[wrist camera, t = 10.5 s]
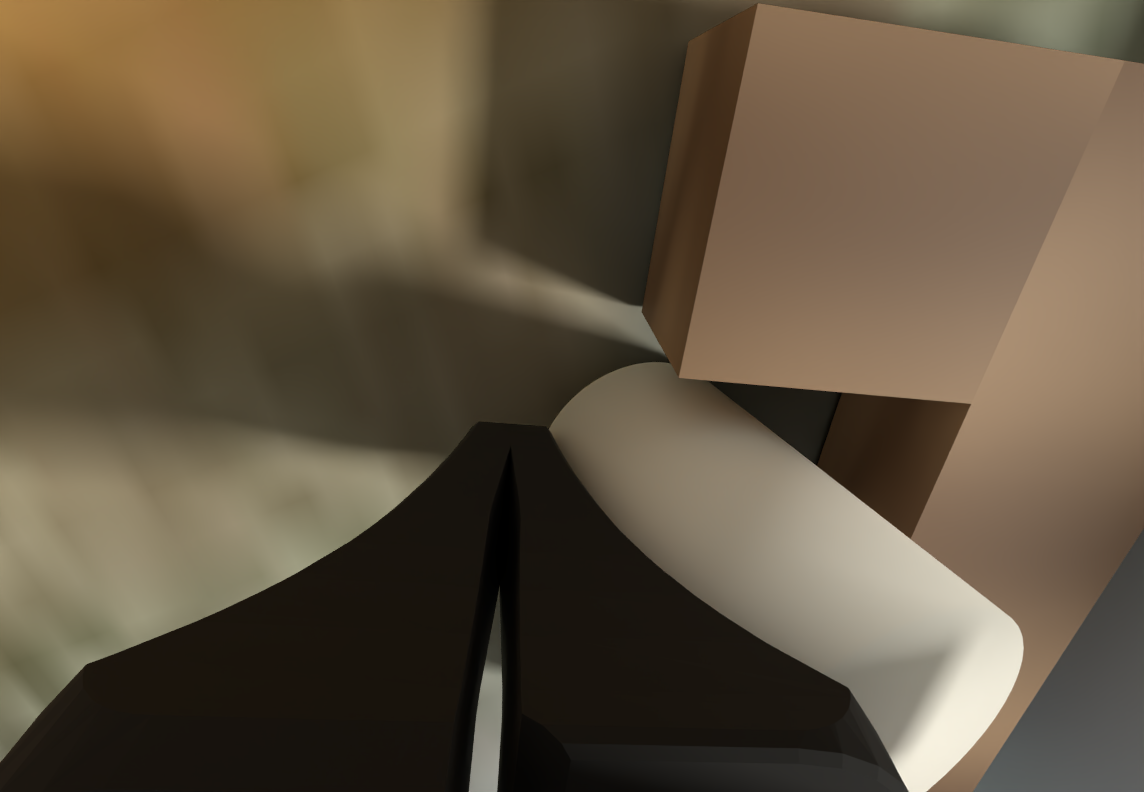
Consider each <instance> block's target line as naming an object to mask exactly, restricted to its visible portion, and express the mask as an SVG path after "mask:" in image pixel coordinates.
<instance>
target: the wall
mask: <svg viewBox="0 0 1144 792" xmlns="http://www.w3.org/2000/svg"><path fill="white" fill-rule="evenodd" d="M973 792H1144V529H1143V531H1142V532H1141V534H1140V535H1139V537H1138V538H1137V540H1136V541H1135V543H1134V545H1133V546H1132V548H1131V549H1130V551H1129V552H1128V554H1127V555H1126V557H1125V558H1124V560H1123V561H1122V563H1121V565H1120V566H1119V568H1118V569H1117V571H1116V572H1115V574H1114V575H1113V577H1112V578H1111V580H1110V581H1109V583H1108V585H1107V586H1106V588H1105V589H1104V591H1103V592H1102V594H1101V595H1100V597H1099V598H1098V600H1097V601H1096V603H1095V605H1094V606H1093V608H1092V609H1091V611H1090V612H1089V614H1088V615H1087V617H1086V618H1085V620H1084V621H1083V623H1082V625H1081V626H1080V628H1079V629H1078V631H1077V632H1076V634H1075V635H1074V637H1073V638H1072V640H1071V641H1070V643H1069V645H1068V646H1067V648H1066V649H1065V651H1064V652H1063V654H1062V655H1061V657H1060V658H1059V660H1058V661H1057V663H1056V665H1055V666H1054V668H1053V669H1052V671H1051V672H1050V674H1049V675H1048V677H1047V678H1046V680H1045V681H1044V683H1043V685H1042V686H1041V688H1040V689H1039V691H1038V692H1037V694H1036V695H1035V697H1034V698H1033V700H1032V701H1031V703H1030V705H1029V706H1028V708H1027V709H1026V711H1025V712H1024V714H1023V715H1022V717H1021V718H1020V720H1019V721H1018V723H1017V725H1016V726H1015V728H1014V729H1013V731H1012V732H1011V734H1010V735H1009V737H1008V738H1007V740H1006V741H1005V743H1004V745H1003V746H1002V748H1001V749H1000V751H999V752H998V754H997V755H996V757H995V758H994V760H993V761H992V763H991V765H990V766H989V768H988V769H987V771H986V772H985V774H984V775H983V777H982V778H981V780H980V781H979V783H978V785H977V786H976V788H975V789H974V791H973Z"/></svg>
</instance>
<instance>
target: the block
mask: <svg viewBox="0 0 1144 792" xmlns="http://www.w3.org/2000/svg"><path fill="white" fill-rule="evenodd" d="M642 313H643V315H644V317H645V319H646V321H647V322H648V324H649V326H650V328H651V329H652V331H653V333H654V335H655V337H656V338H657V340H658V342H659V344H660V345H661V347H662V349H663V351H664V353H665V354H666V356H667V358H668V360H669V361H670V363H671V365H672V367H673V368H674V370H675V372H676V374H677V376H678V377H679V378H685V379H697V380H708V381H719V382H730V383H742V384H753V385H764V386H776V387H787V388H798V389H809V390H821V391H832V392H842V395H841V398H840V400H839V403H838V406H837V409H836V412H835V415H834V418H833V421H832V424H831V427H830V430H829V433H828V436H827V438H826V441H825V444H824V447H823V450H822V453H821V456H820V459H819V462H818V465H817V467H819V468H820V469H821V470H822V471H824V472H825V473H826V474H828V475H829V476H830V477H831V478H833V479H834V480H835V481H837V482H838V483H839V484H840V485H842V486H843V487H844V488H846V489H847V490H848V491H849V492H851V493H852V494H853V495H854V496H856V497H857V498H858V499H860V500H861V501H862V502H863V503H865V504H866V505H867V506H869V507H870V508H871V509H872V510H874V511H875V512H876V513H878V514H879V515H880V516H881V517H883V518H884V519H885V520H887V521H888V522H889V523H890V524H892V525H893V526H894V527H896V528H897V529H898V530H899V531H901V532H902V533H903V534H904V535H906V536H907V537H908V538H910V539H911V540H912V541H913V542H915V543H916V544H917V545H919V546H920V547H921V548H922V549H924V550H925V551H926V552H928V553H929V554H930V555H931V556H933V557H934V558H935V559H937V560H938V561H939V562H940V563H942V564H943V565H944V566H946V567H947V568H948V569H949V570H951V571H952V572H953V573H954V574H956V575H957V576H958V577H960V578H961V579H962V580H963V581H965V582H966V583H967V584H969V585H970V586H971V587H972V588H974V589H975V590H976V591H978V592H979V593H980V594H981V595H983V596H984V597H985V598H987V599H988V600H989V601H990V602H992V603H993V604H994V605H996V606H997V607H998V608H999V609H1001V610H1002V611H1003V612H1004V613H1006V614H1007V615H1008V616H1010V617H1011V618H1012V619H1013V620H1014V621H1015V623H1016V624H1017V625H1018V626H1019V629H1020V631H1021V634H1022V636H1023V646H1024V649H1023V658H1022V663H1021V667H1020V670H1019V674H1018V676H1017V679H1016V681H1015V684H1014V686H1013V688H1012V690H1011V692H1010V694H1009V696H1008V698H1007V700H1006V702H1005V703H1004V705H1003V706H1002V708H1001V710H1000V711H999V713H998V714H997V716H996V717H995V719H994V720H993V722H992V723H991V724H990V726H989V727H988V728H987V730H986V731H985V732H984V734H983V735H982V736H981V737H980V738H979V740H978V741H977V742H976V743H975V744H974V746H973V747H972V748H971V749H970V750H969V751H968V752H967V753H966V754H965V755H964V756H963V758H962V759H961V760H960V761H959V762H958V763H957V764H956V765H955V766H954V767H953V768H952V769H951V770H950V771H949V772H948V773H947V774H946V775H945V776H943V777H942V778H941V779H940V780H939V781H938V782H937V783H936V784H934V785H933V786H932V787H931V788H930V789H929V790H928V791H926V792H973V791H974V789H975V788H976V786H977V785H978V783H979V781H980V780H981V778H982V777H983V775H984V774H985V772H986V771H987V769H988V768H989V766H990V765H991V763H992V761H993V760H994V758H995V757H996V755H997V754H998V752H999V751H1000V749H1001V748H1002V746H1003V745H1004V743H1005V741H1006V740H1007V738H1008V737H1009V735H1010V734H1011V732H1012V731H1013V729H1014V728H1015V726H1016V725H1017V723H1018V721H1019V720H1020V718H1021V717H1022V715H1023V714H1024V712H1025V711H1026V709H1027V708H1028V706H1029V705H1030V703H1031V701H1032V700H1033V698H1034V697H1035V695H1036V694H1037V692H1038V691H1039V689H1040V688H1041V686H1042V685H1043V683H1044V681H1045V680H1046V678H1047V677H1048V675H1049V674H1050V672H1051V671H1052V669H1053V668H1054V666H1055V665H1056V663H1057V661H1058V660H1059V658H1060V657H1061V655H1062V654H1063V652H1064V651H1065V649H1066V648H1067V646H1068V645H1069V643H1070V641H1071V640H1072V638H1073V637H1074V635H1075V634H1076V632H1077V631H1078V629H1079V628H1080V626H1081V625H1082V623H1083V621H1084V620H1085V618H1086V617H1087V615H1088V614H1089V612H1090V611H1091V609H1092V608H1093V606H1094V605H1095V603H1096V601H1097V600H1098V598H1099V597H1100V595H1101V594H1102V592H1103V591H1104V589H1105V588H1106V586H1107V585H1108V583H1109V581H1110V580H1111V578H1112V577H1113V575H1114V574H1115V572H1116V571H1117V569H1118V568H1119V566H1120V565H1121V563H1122V561H1123V560H1124V558H1125V557H1126V555H1127V554H1128V552H1129V551H1130V549H1131V548H1132V546H1133V545H1134V543H1135V541H1136V540H1137V538H1138V537H1139V535H1140V534H1141V532H1142V531H1143V529H1144V64H1143V63H1137V62H1130V61H1124V60H1117V59H1111V58H1105V57H1098V56H1092V55H1086V54H1079V53H1073V52H1066V51H1060V50H1054V49H1047V48H1041V47H1035V46H1028V45H1022V44H1015V43H1009V42H1003V41H996V40H990V39H983V38H977V37H971V36H964V35H958V34H952V33H945V32H939V31H932V30H926V29H920V28H913V27H907V26H901V25H894V24H888V23H881V22H875V21H869V20H862V19H856V18H850V17H843V16H837V15H830V14H824V13H818V12H811V11H805V10H798V9H792V8H786V7H779V6H773V5H767V4H760V3H757V4H756V5H754V6H752V7H750V8H748V9H746V10H745V11H743V12H741V13H739V14H737V15H736V16H734V17H732V18H730V19H728V20H726V21H725V22H723V23H721V24H719V25H717V26H716V27H714V28H712V29H710V30H708V31H707V32H705V33H703V34H701V35H699V36H697V37H696V38H694V39H692V40H690V41H689V42H688V48H687V54H686V59H685V65H684V71H683V77H682V83H681V88H680V94H679V100H678V106H677V111H676V117H675V123H674V129H673V134H672V140H671V146H670V152H669V158H668V163H667V169H666V175H665V181H664V186H663V192H662V198H661V204H660V209H659V215H658V221H657V227H656V232H655V238H654V244H653V250H652V256H651V261H650V267H649V273H648V279H647V284H646V290H645V296H644V302H643V307H642Z"/></svg>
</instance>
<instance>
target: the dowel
mask: <svg viewBox="0 0 1144 792" xmlns="http://www.w3.org/2000/svg"><path fill="white" fill-rule="evenodd" d="M549 431H550V432H551V433H552V435H553V437H554V439H555V441H556V443H557V445H558V447H559V449H560V450H561V452H562V454H563V455H564V457H565V459H566V460H567V462H568V464H569V465H570V467H571V468H572V470H573V471H574V473H575V474H576V476H577V477H578V478H579V480H580V481H581V483H582V484H583V485H584V487H585V488H586V490H587V491H588V492H589V494H590V495H591V496H592V498H593V499H594V500H595V502H596V503H597V504H598V505H599V507H600V508H601V509H602V510H603V511H604V513H605V514H606V515H607V516H608V517H609V519H610V520H611V521H612V522H613V523H614V524H615V525H616V527H617V528H618V529H619V530H620V531H621V532H622V533H623V534H624V535H625V536H626V537H627V538H628V539H629V540H630V541H631V542H632V543H633V544H635V545H636V546H637V547H638V548H639V549H640V550H641V551H642V552H643V553H644V554H645V555H646V556H647V557H648V558H649V559H651V560H652V561H653V562H654V563H655V564H656V565H657V566H659V567H660V568H661V569H662V570H663V571H665V572H666V573H667V574H668V575H670V576H671V577H672V578H674V579H675V580H676V581H677V582H679V583H680V584H681V585H682V586H684V587H685V588H686V589H687V590H689V591H690V592H691V593H693V594H694V595H695V596H697V597H698V598H699V599H701V600H702V601H704V602H705V603H706V604H708V605H709V606H711V607H712V608H714V609H715V610H716V611H718V612H719V613H721V614H722V615H724V616H725V617H727V618H728V619H730V620H732V621H733V622H735V623H736V624H738V625H739V626H741V627H742V628H744V629H745V630H747V631H749V632H750V633H752V634H753V635H755V636H756V637H758V638H760V639H761V640H763V641H764V642H766V643H768V644H770V645H771V646H773V647H775V648H777V649H779V650H780V651H782V652H784V653H786V654H788V655H790V656H791V657H793V658H795V659H797V660H799V661H800V662H802V663H804V664H806V665H808V666H810V667H811V668H813V669H815V670H817V671H819V672H821V673H822V674H824V675H826V676H828V677H830V678H831V679H833V680H835V681H837V682H839V683H841V684H842V685H844V686H846V687H848V688H849V689H850V691H851V693H852V694H853V696H854V697H855V699H856V700H857V702H858V703H859V705H860V706H861V708H862V710H863V711H864V713H865V714H866V716H867V717H868V719H869V721H870V722H871V724H872V725H873V727H874V729H875V730H876V732H877V733H878V735H879V737H880V739H881V741H882V743H883V744H884V746H885V748H886V750H887V752H888V754H889V756H890V757H891V759H892V761H893V763H894V765H895V767H896V769H897V771H898V773H899V775H900V777H901V778H902V780H903V782H904V784H905V786H906V787H907V789H908V791H909V792H926V791H928V790H929V789H930V788H931V787H932V786H933V785H934V784H936V783H937V782H938V781H939V780H940V779H941V778H942V777H943V776H945V775H946V774H947V773H948V772H949V771H950V770H951V769H952V768H953V767H954V766H955V765H956V764H957V763H958V762H959V761H960V760H961V759H962V758H963V756H964V755H965V754H966V753H967V752H968V751H969V750H970V749H971V748H972V747H973V746H974V744H975V743H976V742H977V741H978V740H979V738H980V737H981V736H982V735H983V734H984V732H985V731H986V730H987V728H988V727H989V726H990V724H991V723H992V722H993V720H994V719H995V717H996V716H997V714H998V713H999V711H1000V710H1001V708H1002V706H1003V705H1004V703H1005V702H1006V700H1007V698H1008V696H1009V694H1010V692H1011V690H1012V688H1013V686H1014V684H1015V681H1016V679H1017V676H1018V674H1019V670H1020V667H1021V663H1022V658H1023V649H1024V646H1023V636H1022V634H1021V631H1020V629H1019V626H1018V625H1017V624H1016V623H1015V621H1014V620H1013V619H1012V618H1011V617H1010V616H1008V615H1007V614H1006V613H1004V612H1003V611H1002V610H1001V609H999V608H998V607H997V606H996V605H994V604H993V603H992V602H990V601H989V600H988V599H987V598H985V597H984V596H983V595H981V594H980V593H979V592H978V591H976V590H975V589H974V588H972V587H971V586H970V585H969V584H967V583H966V582H965V581H963V580H962V579H961V578H960V577H958V576H957V575H956V574H954V573H953V572H952V571H951V570H949V569H948V568H947V567H946V566H944V565H943V564H942V563H940V562H939V561H938V560H937V559H935V558H934V557H933V556H931V555H930V554H929V553H928V552H926V551H925V550H924V549H922V548H921V547H920V546H919V545H917V544H916V543H915V542H913V541H912V540H911V539H910V538H908V537H907V536H906V535H904V534H903V533H902V532H901V531H899V530H898V529H897V528H896V527H894V526H893V525H892V524H890V523H889V522H888V521H887V520H885V519H884V518H883V517H881V516H880V515H879V514H878V513H876V512H875V511H874V510H872V509H871V508H870V507H869V506H867V505H866V504H865V503H863V502H862V501H861V500H860V499H858V498H857V497H856V496H854V495H853V494H852V493H851V492H849V491H848V490H847V489H846V488H844V487H843V486H842V485H840V484H839V483H838V482H837V481H835V480H834V479H833V478H831V477H830V476H829V475H828V474H826V473H825V472H824V471H822V470H821V469H820V468H819V467H817V466H816V465H815V464H813V463H812V462H811V461H810V460H808V459H807V458H806V457H804V456H803V455H802V454H801V453H799V452H798V451H797V450H796V449H794V448H793V447H792V446H790V445H789V444H788V443H787V442H785V441H784V440H783V439H781V438H780V437H779V436H778V435H776V434H775V433H774V432H772V431H771V430H770V429H769V428H767V427H766V426H765V425H763V424H762V423H761V422H760V421H758V420H757V419H756V418H755V417H753V416H752V415H751V414H749V413H748V412H747V411H746V410H744V409H743V408H742V407H740V406H739V405H738V404H737V403H735V402H734V401H733V400H731V399H730V398H729V397H728V396H726V395H725V394H724V393H722V392H721V391H720V390H719V389H717V388H716V387H715V386H713V385H712V384H711V383H710V382H708V381H707V380H697V379H685V378H679V377H678V376H677V374H676V372H675V370H674V368H673V367H672V365H671V363H664V362H647V363H640V364H634V365H631V366H627V367H623V368H620V369H618V370H615V371H613V372H610V373H608V374H606V375H604V376H603V377H601V378H599V379H597V380H595V381H594V382H592V383H591V384H589V385H588V386H587V387H585V388H584V389H582V390H581V391H580V392H579V393H578V394H577V395H576V396H574V397H573V398H572V399H571V400H570V401H569V402H568V403H567V405H566V406H565V407H564V408H563V409H562V410H561V411H560V413H559V414H558V416H557V417H556V418H555V420H554V421H553V423H552V424H551V426H550V428H549Z"/></svg>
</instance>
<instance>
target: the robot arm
mask: <svg viewBox="0 0 1144 792" xmlns="http://www.w3.org/2000/svg"><path fill="white" fill-rule="evenodd" d="M499 585H500V617H501V654H502V727H501V743H500V759H499V775H498V790H497V792H909V791H908V789H907V787H906V786H905V784H904V782H903V780H902V778H901V777H900V775H899V773H898V771H897V769H896V767H895V765H894V763H893V761H892V759H891V757H890V756H889V754H888V752H887V750H886V748H885V746H884V744H883V743H882V741H881V739H880V737H879V735H878V733H877V732H876V730H875V729H874V727H873V725H872V724H871V722H870V721H869V719H868V717H867V716H866V714H865V713H864V711H863V710H862V708H861V706H860V705H859V703H858V702H857V700H856V699H855V697H854V696H853V694H852V693H851V691H850V689H849V688H848V687H846V686H844V685H842V684H841V683H839V682H837V681H835V680H833V679H831V678H830V677H828V676H826V675H824V674H822V673H821V672H819V671H817V670H815V669H813V668H811V667H810V666H808V665H806V664H804V663H802V662H800V661H799V660H797V659H795V658H793V657H791V656H790V655H788V654H786V653H784V652H782V651H780V650H779V649H777V648H775V647H773V646H771V645H770V644H768V643H766V642H764V641H763V640H761V639H760V638H758V637H756V636H755V635H753V634H752V633H750V632H749V631H747V630H745V629H744V628H742V627H741V626H739V625H738V624H736V623H735V622H733V621H732V620H730V619H728V618H727V617H725V616H724V615H722V614H721V613H719V612H718V611H716V610H715V609H714V608H712V607H711V606H709V605H708V604H706V603H705V602H704V601H702V600H701V599H699V598H698V597H697V596H695V595H694V594H693V593H691V592H690V591H689V590H687V589H686V588H685V587H684V586H682V585H681V584H680V583H679V582H677V581H676V580H675V579H674V578H672V577H671V576H670V575H668V574H667V573H666V572H665V571H663V570H662V569H661V568H660V567H659V566H657V565H656V564H655V563H654V562H653V561H652V560H651V559H649V558H648V557H647V556H646V555H645V554H644V553H643V552H642V551H641V550H640V549H639V548H638V547H637V546H636V545H635V544H633V543H632V542H631V541H630V540H629V539H628V538H627V537H626V536H625V535H624V534H623V533H622V532H621V531H620V530H619V529H618V528H617V527H616V525H615V524H614V523H613V522H612V521H611V520H610V519H609V517H608V516H607V515H606V514H605V513H604V511H603V510H602V509H601V508H600V507H599V505H598V504H597V503H596V502H595V500H594V499H593V498H592V496H591V495H590V494H589V492H588V491H587V490H586V488H585V487H584V485H583V484H582V483H581V481H580V480H579V478H578V477H577V476H576V474H575V473H574V471H573V470H572V468H571V467H570V465H569V464H568V462H567V460H566V459H565V457H564V455H563V454H562V452H561V450H560V449H559V447H558V445H557V443H556V441H555V439H554V437H553V435H552V433H551V432H550V431H549V430H548V428H547V427H544V426H531V425H517V424H504V423H490V422H478V423H476V424H475V425H474V426H473V427H472V428H471V429H470V431H469V432H468V433H467V435H466V436H465V437H464V439H463V440H462V441H461V442H460V443H459V445H458V446H457V447H456V448H455V449H454V451H453V452H452V453H451V454H450V455H449V456H448V457H447V458H446V459H445V461H444V462H443V463H442V464H441V465H440V466H439V467H438V468H437V469H436V470H435V471H434V472H433V473H432V474H431V475H430V476H429V477H428V478H427V479H426V480H425V481H424V482H423V483H422V484H421V485H420V486H419V487H418V488H416V489H415V490H414V491H413V492H412V493H411V494H410V495H409V496H408V497H406V498H405V499H404V500H403V501H402V502H401V503H400V504H399V505H398V506H396V507H395V508H394V509H393V510H392V511H390V512H389V513H388V514H387V515H385V516H384V517H383V518H382V519H380V520H379V521H378V522H376V523H375V524H374V525H372V526H371V527H370V528H368V529H367V530H366V531H364V532H363V533H361V534H360V535H359V536H357V537H356V538H354V539H353V540H351V541H350V542H348V543H347V544H345V545H343V546H342V547H340V548H338V549H337V550H335V551H333V552H332V553H330V554H328V555H326V556H325V557H323V558H321V559H320V560H318V561H316V562H315V563H313V564H311V565H310V566H308V567H306V568H305V569H303V570H301V571H300V572H298V573H296V574H294V575H292V576H291V577H289V578H287V579H285V580H283V581H281V582H279V583H277V584H275V585H273V586H271V587H269V588H267V589H265V590H263V591H261V592H259V593H257V594H255V595H253V596H251V597H249V598H247V599H245V600H243V601H240V602H238V603H236V604H234V605H232V606H230V607H228V608H226V609H224V610H221V611H219V612H217V613H215V614H212V615H210V616H208V617H205V618H203V619H201V620H199V621H196V622H194V623H191V624H189V625H186V626H184V627H181V628H179V629H176V630H174V631H171V632H169V633H166V634H164V635H161V636H159V637H156V638H154V639H151V640H149V641H146V642H144V643H141V644H139V645H136V646H134V647H131V648H129V649H126V650H124V651H121V652H119V653H116V654H114V655H111V656H108V657H105V658H103V659H100V660H97V661H94V662H92V663H89V664H86V665H85V666H84V668H83V669H82V670H81V671H80V672H79V673H78V674H77V675H76V676H75V677H74V678H73V679H72V680H71V681H70V683H69V684H68V685H67V686H66V687H65V688H64V689H63V690H62V691H61V692H60V693H59V694H58V695H57V696H56V698H55V699H54V700H53V701H52V702H51V703H50V704H49V705H48V706H47V707H46V708H45V709H44V710H43V711H42V712H41V714H40V715H39V716H38V717H37V719H36V720H35V721H34V722H33V723H32V725H31V726H30V727H29V728H28V730H27V731H26V732H25V733H24V734H23V736H22V737H21V738H20V739H19V741H18V742H17V743H16V744H15V745H14V747H13V748H12V749H11V750H10V752H9V753H8V754H7V755H6V756H5V758H4V759H3V760H2V761H1V762H0V792H469V782H470V772H471V762H472V752H473V741H474V731H475V721H476V713H477V706H478V699H479V692H480V686H481V681H482V676H483V670H484V665H485V660H486V654H487V649H488V644H489V639H490V633H491V628H492V623H493V617H494V612H495V607H496V601H497V596H498V591H499Z"/></svg>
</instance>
